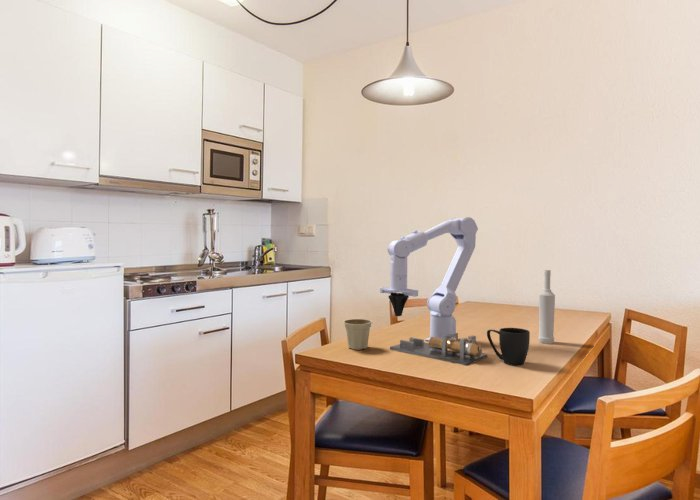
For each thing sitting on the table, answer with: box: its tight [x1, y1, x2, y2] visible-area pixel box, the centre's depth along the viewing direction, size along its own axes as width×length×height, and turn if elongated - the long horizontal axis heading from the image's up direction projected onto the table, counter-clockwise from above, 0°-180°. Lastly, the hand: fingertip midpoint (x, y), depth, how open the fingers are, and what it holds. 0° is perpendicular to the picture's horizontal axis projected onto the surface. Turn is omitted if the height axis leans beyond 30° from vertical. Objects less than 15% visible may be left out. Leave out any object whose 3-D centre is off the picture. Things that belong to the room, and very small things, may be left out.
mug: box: [486, 327, 531, 367], centre depth 135 cm, size 8×12×10 cm
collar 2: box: [459, 335, 477, 359], centre depth 138 cm, size 7×1×6 cm, turn 138°
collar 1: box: [442, 332, 459, 355], centre depth 142 cm, size 7×1×6 cm, turn 138°
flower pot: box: [342, 318, 373, 351], centre depth 152 cm, size 9×9×9 cm
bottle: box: [537, 269, 556, 345], centre depth 161 cm, size 5×5×25 cm
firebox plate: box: [389, 336, 488, 366], centre depth 145 cm, size 13×27×3 cm, turn 48°
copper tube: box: [428, 337, 483, 357], centre depth 141 cm, size 16×4×4 cm, turn 48°
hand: (398, 315), depth 158 cm, fingers closed
